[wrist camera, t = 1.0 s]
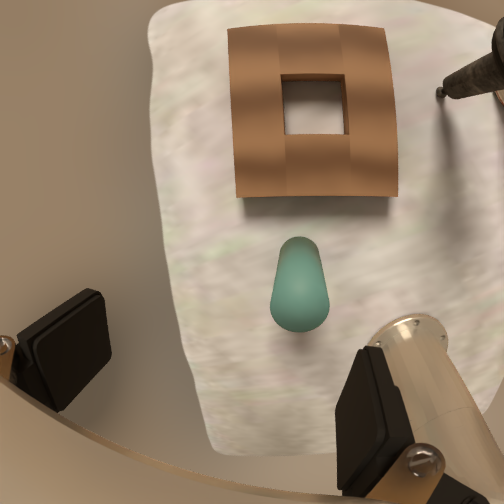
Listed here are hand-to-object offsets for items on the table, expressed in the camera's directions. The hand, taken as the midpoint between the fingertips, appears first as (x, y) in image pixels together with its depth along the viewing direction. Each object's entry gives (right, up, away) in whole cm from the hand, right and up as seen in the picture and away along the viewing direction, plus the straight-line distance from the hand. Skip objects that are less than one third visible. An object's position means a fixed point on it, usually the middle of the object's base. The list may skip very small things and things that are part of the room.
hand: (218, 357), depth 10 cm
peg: (+6, +3, +23) cm, 24 cm away
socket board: (+8, +18, +18) cm, 27 cm away
